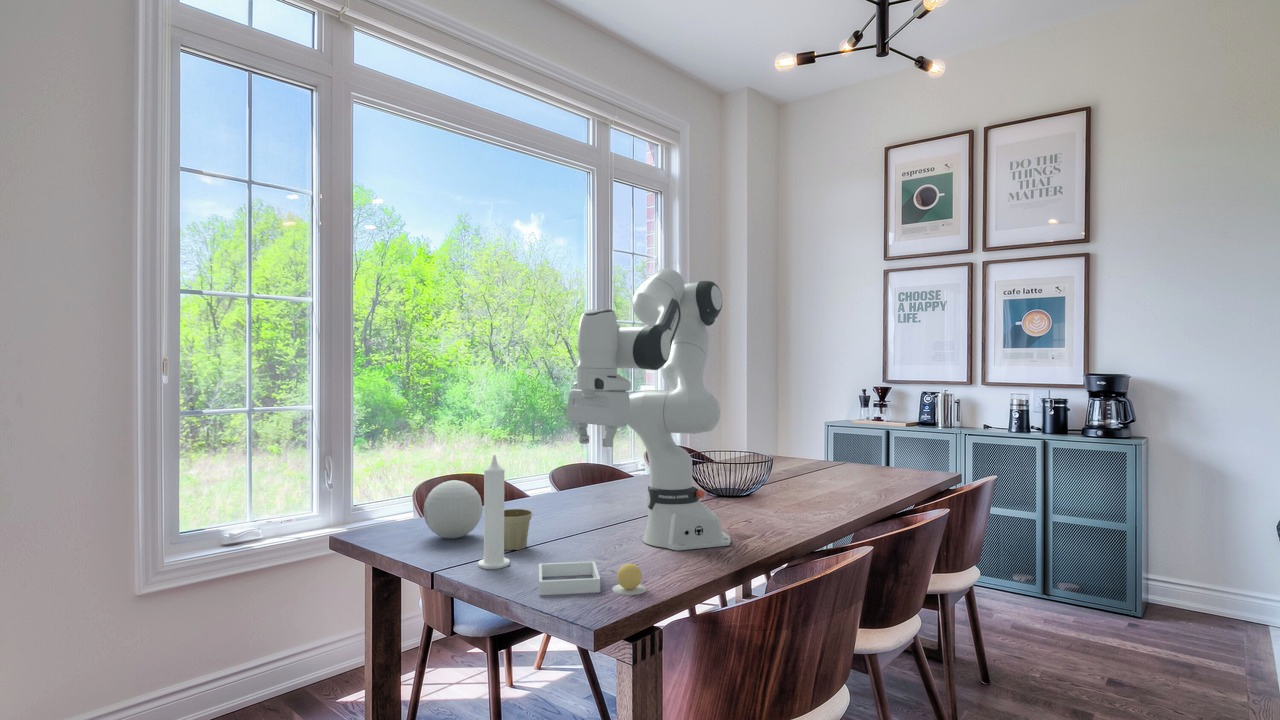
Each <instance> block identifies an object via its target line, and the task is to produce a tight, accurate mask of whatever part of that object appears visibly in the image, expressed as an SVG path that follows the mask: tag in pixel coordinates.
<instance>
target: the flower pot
mask: <svg viewBox="0 0 1280 720" xmlns="http://www.w3.org/2000/svg"><path fill="white" fill-rule="evenodd" d="M533 513H534V512H533V511H532V510H530V509H525V508H508V509H504V551H505V550H506V551H512V550H515V551H520V550H523V549H525V548H526V547H527V545H528V537H529V536H528V535H529V529H530V521H531V519H532V515H533Z"/></svg>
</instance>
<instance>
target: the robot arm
mask: <svg viewBox="0 0 1280 720" xmlns="http://www.w3.org/2000/svg"><path fill="white" fill-rule="evenodd" d="M631 303H632V304H631V305H632V310H633V313H634V314H635V317H636V318H637V319H638V320H639V321H640V322H642V323H643V324H644V326H643V325H642V326H621V325H620V324H618V323H617V315H616V312H615V310H612V309H610V308H600V309H599V308H598V309H589V310H585V311H584V312H583V313H582V314H581V315H580V316H581V317H580V320H579V325H578V331H577V351H578V352H577V353H578V363H577V367H576V381H575V382H574V384H573V385H572V386H571V389H570V391H569V394H568V396H567V397H568V398H567V406H566V418H567V422H568V423H576V431H577V433H578V436H579V440H578V442H579V444H583V445H586V444H589V443H590V435H588V431H587V428H588V425H595V426H604V431H605V432H606V433H605V436H604V438H602V447H603V448H612V447H614V439H615V436H616V434H617V432H618V427H627V426H628V427H629V428H631V429H632V430H633V431H634V432H635V433H636V434H637V435H638V437H639V438H640V439H641V441H642V443H643V445H644V447H645V450H646V452H647V458H648V468H649V485H648V487H647V491H646V493H647V499H646V501H647V508H648V512H647V520H646V521H647V523H646V527H645V532H644V535H643V539H642V541H643V542H644V543H645V544H647V545H650V546H653V547H659V548H663V549H669V550H673V551H689V550H697V549H705V548H717V547H725V546H730V545H731V544H730V543H732V541H731V537H730V535H729V534H728V533H726V532H725V531H723V528H722V523H721V519H720V518H719V516H718V515H717V514H716V513H715V512H714V511H713V510H711V508H709V507H708V506H707V505H705V504H704V503H703V502H702V501H700V499H704V497H705V495H706V492H705V491H704V490H702V489H699V488H697V487H695V486H693V459H692V456H691V455H690V453H689V451H687V449H684V448H683V447H681V446H679V445H677V443H676V442H675V440H674V439H673V436H672V434H687V435H688V434H689V435H690V434H692V435H695V434H701V433H708V432H712V431H713V430H714V429H715V428H716V427H717V425H718V424H719V421H720V418H721V406H720V404H719V401H718V400H717V398H716V396H714V395H713V393H710V391H708V390H707V389H706V388H705V385H704V383H703V381H704V380H703V377H704V372H705V367H706V363H707V358H708V355H709V354H708V353H709V345H710V334H709V332H708V331H709V330H708V329H707V327H710V326H712V325H713V324H714V323H715V321H716V318H718V316H719V314H720V313H721V310H722V308H723V297H722V292H721V288H719V285H718V284H716V282H715V281H712V280H700V281H698V282H688V283H685V280H684V278H683V277H682V275H681V274H680V273H679V272H677V271H676V270H674V269H672V268H663V269H662V268H661V269H659V270H657V271H655V272H654V273H652V274H651V275H650V276H648V277H647V278H646V279H645V280H644V281H643V282H642V283H641V284H640V285H639V286H638V287H637V289H636V290H635V292H634V293H633V296H632V300H631ZM618 369H638V370H639V369H640V370H650V371H658V370H660V369H661V375H662V378H663V380H664V381H665V384H667V386H669V387H670V388H672V389H671V390H663V389H662V390H657V389H648V390H641V391H635V392H632V393H630V394H629V393H628V392H629V391H631V381H630V380H628V379H627V378H625V377H623V376H622V375H620V374H619V373H618Z"/></svg>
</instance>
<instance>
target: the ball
mask: <svg viewBox="0 0 1280 720" xmlns="http://www.w3.org/2000/svg"><path fill="white" fill-rule="evenodd" d="M616 573H617V574H616V577H617V578H616V579H617V583H618V584H620V585H621V586H622V587H623V588H625V589H634V588H636V587H637V586H638V585H639V584H641V582H642V580H643V579H642V578H643V577H642V570H641V569H640V568H639V566H638V565H636V564H634V563H624V564H623V565H621V566H620V567H619V569H618V570H617V572H616Z"/></svg>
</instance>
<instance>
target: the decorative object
mask: <svg viewBox="0 0 1280 720" xmlns="http://www.w3.org/2000/svg"><path fill="white" fill-rule="evenodd" d="M482 515H483V501H482V499H481V495H480V494H479V492H478V491H477V489H475V487H474V486H472V485H471V484H469V483H468V482H465V481H462V480H456V479H454V480H453V479H452V480H447V481H443V482H442V483H439V484H438V485H436V486H435V487H434V488H432V490H430V492H429V493H428V495H427V497H426V498H425V501H424V504H423V518H424V522H425V524H426V526H427V527H428V529H429V530H431V532H432V533H434V534H435V535H437V536H438V537H441V538H444V539H457V538H462V537H464V536H466V535H468V534H469V533H471V532H472V531H473V530H474V529H475V528H476V527H477V525H478V524H479V522H480V520H481V517H482Z"/></svg>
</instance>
